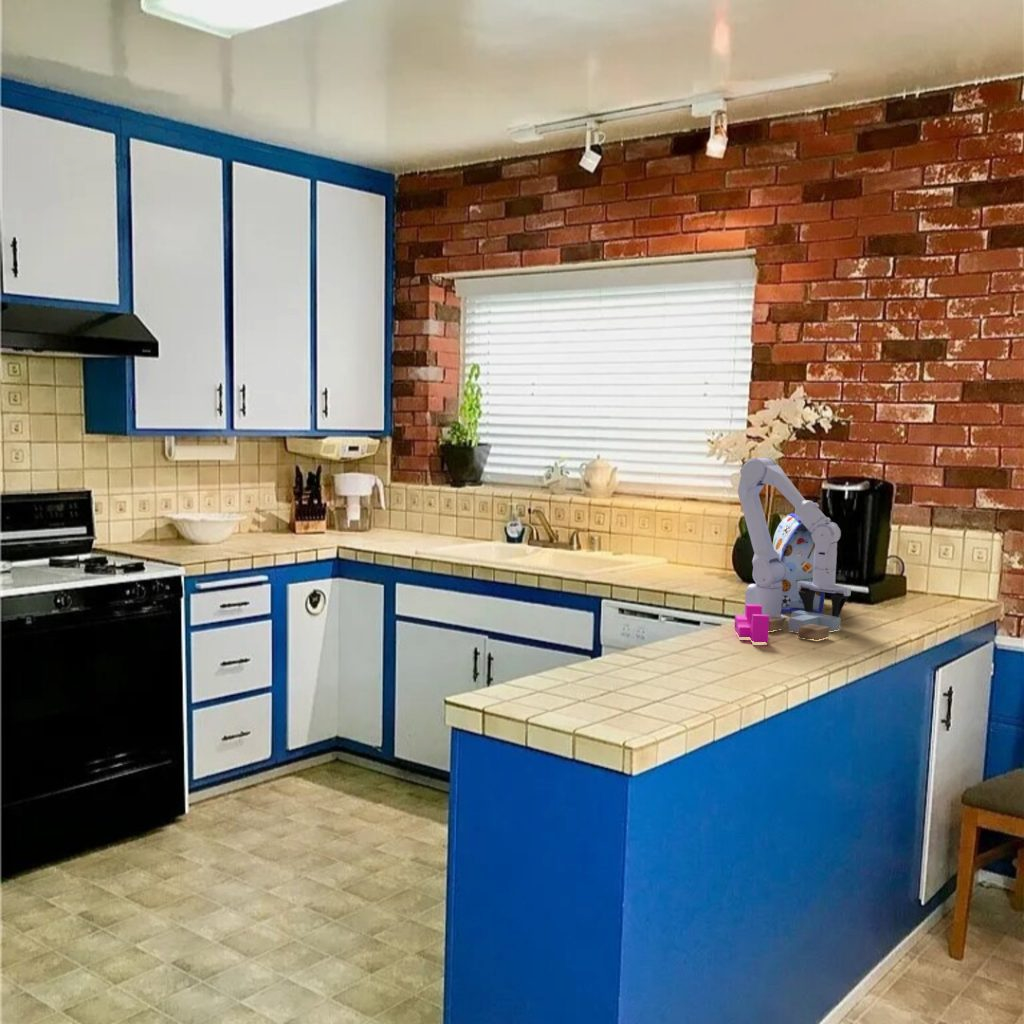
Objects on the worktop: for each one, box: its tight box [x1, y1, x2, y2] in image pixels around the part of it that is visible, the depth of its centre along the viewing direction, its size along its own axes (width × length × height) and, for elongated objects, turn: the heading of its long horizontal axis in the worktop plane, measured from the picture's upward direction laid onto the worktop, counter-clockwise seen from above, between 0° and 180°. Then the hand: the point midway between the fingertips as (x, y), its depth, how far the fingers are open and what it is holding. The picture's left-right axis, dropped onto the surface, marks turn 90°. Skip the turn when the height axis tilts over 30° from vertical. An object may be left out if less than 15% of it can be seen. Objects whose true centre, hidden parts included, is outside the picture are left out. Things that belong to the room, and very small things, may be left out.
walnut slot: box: [769, 616, 830, 640], centre depth 265 cm, size 18×6×3 cm, turn 45°
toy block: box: [733, 603, 769, 644], centre depth 258 cm, size 15×6×8 cm, turn 175°
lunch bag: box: [772, 512, 826, 614], centre depth 302 cm, size 23×17×27 cm
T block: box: [787, 610, 841, 634], centre depth 270 cm, size 12×12×4 cm
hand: (821, 618), depth 276 cm, fingers open, 7 cm apart
